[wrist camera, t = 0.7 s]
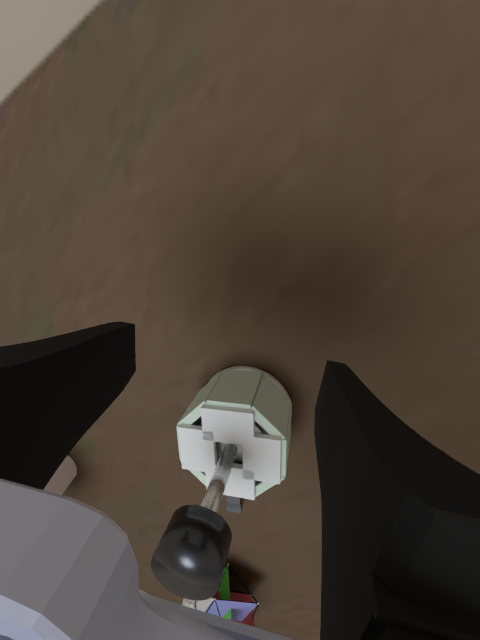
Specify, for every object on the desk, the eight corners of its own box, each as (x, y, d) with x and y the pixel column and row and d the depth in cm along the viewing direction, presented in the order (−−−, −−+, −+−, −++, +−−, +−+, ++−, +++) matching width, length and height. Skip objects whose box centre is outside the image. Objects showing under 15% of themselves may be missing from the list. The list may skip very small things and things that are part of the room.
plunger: (270, 483, 21) (245, 629, 13) (197, 472, 22) (137, 600, 14) (270, 417, 19) (242, 542, 12) (192, 408, 20) (122, 517, 13)
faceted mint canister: (290, 469, 25) (283, 531, 20) (207, 456, 27) (182, 511, 22) (293, 369, 23) (286, 413, 18) (200, 362, 24) (170, 400, 19)
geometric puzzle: (293, 619, 28) (225, 691, 22) (257, 653, 30) (188, 725, 24) (245, 538, 32) (179, 580, 26) (217, 573, 34) (151, 619, 29)
